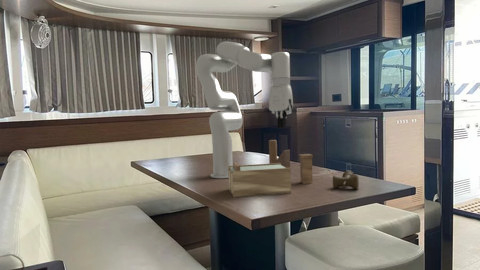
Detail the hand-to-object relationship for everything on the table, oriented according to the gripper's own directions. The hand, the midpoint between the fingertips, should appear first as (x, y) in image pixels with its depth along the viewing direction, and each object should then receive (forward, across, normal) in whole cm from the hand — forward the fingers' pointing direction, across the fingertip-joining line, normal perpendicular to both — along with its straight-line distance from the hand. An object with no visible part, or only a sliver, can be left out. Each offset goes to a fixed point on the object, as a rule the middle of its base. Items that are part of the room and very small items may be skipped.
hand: (281, 127), depth 152 cm
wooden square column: (+24, +3, +11) cm, 27 cm away
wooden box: (+24, +1, -14) cm, 28 cm away
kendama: (+24, +20, +16) cm, 35 cm away
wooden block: (+24, -9, +6) cm, 27 cm away
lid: (+16, +1, -14) cm, 21 cm away
